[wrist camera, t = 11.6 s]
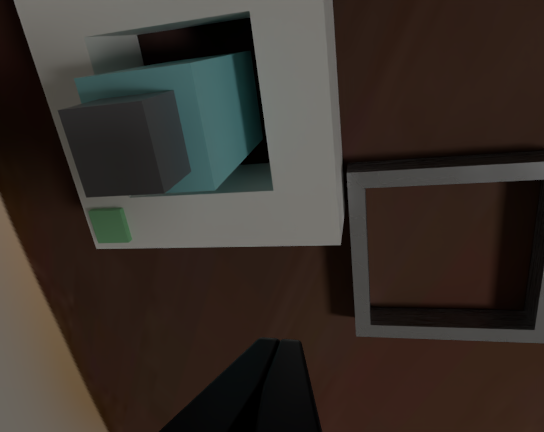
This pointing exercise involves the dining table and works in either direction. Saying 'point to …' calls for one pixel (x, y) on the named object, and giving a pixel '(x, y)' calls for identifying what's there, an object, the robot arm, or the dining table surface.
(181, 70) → the plug
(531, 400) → the dining table surface
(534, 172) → the open square ring
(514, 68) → the dining table surface
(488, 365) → the dining table surface
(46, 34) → the frame
